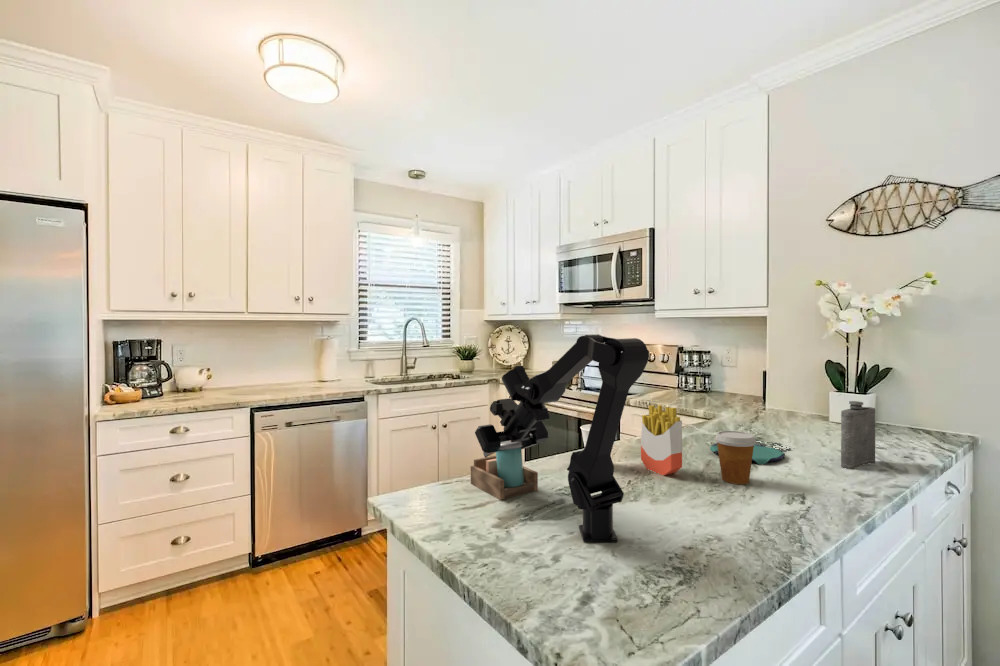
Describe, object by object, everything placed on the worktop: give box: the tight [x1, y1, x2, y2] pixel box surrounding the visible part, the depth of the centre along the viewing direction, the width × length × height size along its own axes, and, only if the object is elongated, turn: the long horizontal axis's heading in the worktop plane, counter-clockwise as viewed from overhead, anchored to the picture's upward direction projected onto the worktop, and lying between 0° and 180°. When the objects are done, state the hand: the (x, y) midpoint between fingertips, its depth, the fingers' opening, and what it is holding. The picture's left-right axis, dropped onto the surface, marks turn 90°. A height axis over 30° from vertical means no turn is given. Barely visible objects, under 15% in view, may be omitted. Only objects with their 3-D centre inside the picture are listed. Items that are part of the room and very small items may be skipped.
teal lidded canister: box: [495, 441, 524, 487], centre depth 116 cm, size 7×7×10 cm
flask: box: [840, 400, 876, 470], centre depth 134 cm, size 4×14×18 cm, turn 117°
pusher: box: [486, 459, 498, 477], centre depth 120 cm, size 1×8×6 cm, turn 123°
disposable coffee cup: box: [714, 430, 757, 485], centre depth 122 cm, size 10×10×12 cm
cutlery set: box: [709, 438, 791, 465], centre depth 148 cm, size 20×30×2 cm, turn 128°
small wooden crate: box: [470, 455, 539, 501], centre depth 119 cm, size 14×11×6 cm
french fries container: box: [640, 404, 683, 476], centre depth 129 cm, size 5×11×18 cm, turn 28°
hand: (500, 452), depth 120 cm, fingers open, 9 cm apart
